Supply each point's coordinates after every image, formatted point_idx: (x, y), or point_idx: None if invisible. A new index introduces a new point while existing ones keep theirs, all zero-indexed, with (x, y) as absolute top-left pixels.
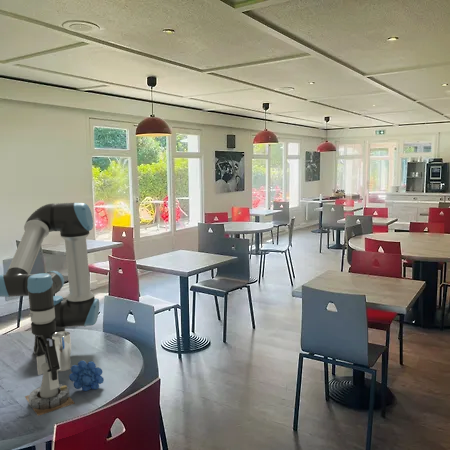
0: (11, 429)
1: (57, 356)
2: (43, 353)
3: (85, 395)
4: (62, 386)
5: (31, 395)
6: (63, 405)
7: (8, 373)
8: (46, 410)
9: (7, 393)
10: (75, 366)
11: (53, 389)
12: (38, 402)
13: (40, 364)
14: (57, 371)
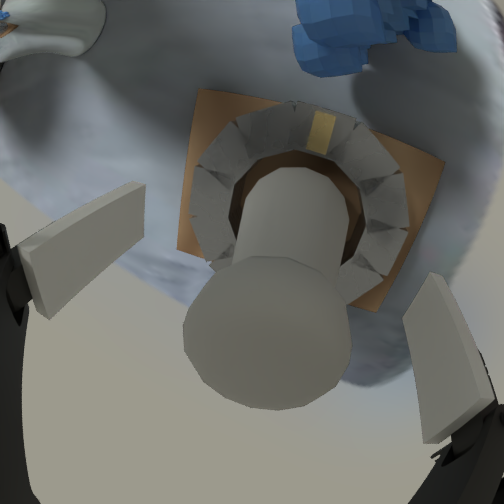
0: None
1: (25, 47)
2: (9, 261)
3: (387, 53)
4: (313, 135)
5: None
6: (412, 205)
7: (16, 182)
8: None
9: None
10: (362, 5)
11: (346, 234)
12: None
13: (93, 255)
14: (485, 376)
